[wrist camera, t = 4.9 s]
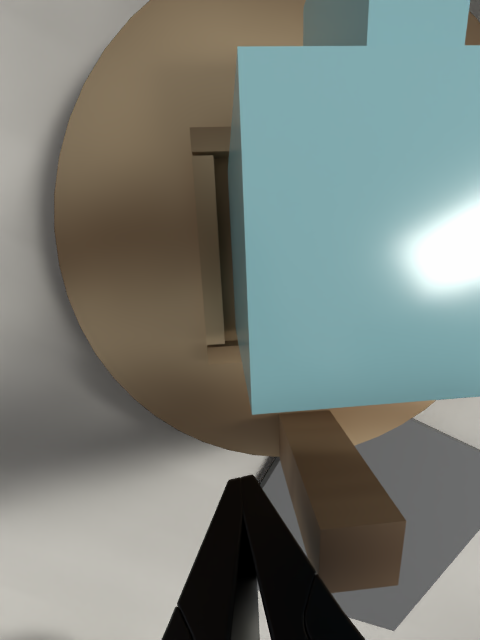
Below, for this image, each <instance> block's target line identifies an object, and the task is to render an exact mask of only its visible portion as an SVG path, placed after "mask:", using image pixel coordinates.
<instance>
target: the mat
mask: <svg viewBox="0 0 480 640" xmlns="http://www.w3.org/2000/svg"><path fill="white" fill-rule="evenodd" d="M355 448H356V449H357V450H358V452H359V453H360V455H361V456H362V458H363V459H364V460H365V462H366V463H367V465H368V466H369V468H370V469H371V471H372V472H373V473H374V475H375V476H376V478H377V479H378V481H379V482H380V484H381V485H382V486H383V488H384V489H385V491H386V492H387V494H388V495H389V496H390V498H391V499H392V501H393V502H394V504H395V505H396V507H397V508H398V509H399V511H400V512H401V514H402V515H403V517H404V518H405V520H406V528H405V536H404V544H403V551H402V559H401V567H400V575H399V582H398V585H396V586H388V587H379V588H371V589H363V590H354V591H346V592H337V593H331V594H332V595H333V597H334V598H335V600H336V601H337V603H338V604H339V605H340V607H341V608H342V610H343V611H344V613H345V614H346V615H347V617H349V618H352V619H356V620H359V621H362V622H366V623H369V624H372V625H376V626H379V627H382V628H386V629H389V630H392V631H394V630H395V629H396V628H397V627H398V626H399V624H400V623H401V622H402V621H403V620H404V618H405V617H406V616H407V615H408V614H409V613H410V611H411V610H412V609H413V608H414V607H415V605H416V604H417V603H418V602H419V601H420V599H421V598H422V597H423V596H424V595H425V594H426V592H427V591H428V590H429V589H430V588H431V586H432V585H433V584H434V583H435V582H436V581H437V579H438V578H439V577H440V576H441V575H442V573H443V572H444V571H445V570H446V569H447V567H448V566H449V565H450V564H451V563H452V562H453V560H454V559H455V558H456V557H457V556H458V554H459V553H460V552H461V551H462V550H463V549H464V547H465V546H466V545H467V544H468V543H469V541H470V540H471V539H472V538H473V537H474V535H475V534H476V533H477V532H478V531H479V530H480V450H479V449H477V448H475V447H472V446H470V445H468V444H466V443H464V442H462V441H460V440H458V439H455V438H453V437H451V436H449V435H447V434H445V433H443V432H441V431H439V430H436V429H434V428H432V427H430V426H428V425H426V424H424V423H422V422H419V421H417V420H415V419H413V418H411V419H410V420H408V421H407V422H405V423H403V424H402V425H400V426H398V427H396V428H394V429H392V430H390V431H388V432H386V433H384V434H382V435H380V436H378V437H376V438H373V439H371V440H368V441H365V442H363V443H360V444H357V445H355ZM260 486H261V487H262V489H263V491H264V492H265V494H266V495H267V497H268V498H269V500H270V501H271V503H272V504H273V506H274V507H275V509H276V510H277V512H278V513H279V515H280V517H281V518H282V520H283V521H284V523H285V524H286V526H287V527H288V529H289V530H290V532H291V533H292V535H293V536H294V538H295V539H296V541H297V543H298V544H299V546H300V547H301V549H302V550H303V552H304V553H305V555H306V556H307V553H306V550H305V546H304V543H303V539H302V536H301V532H300V529H299V525H298V522H297V518H296V515H295V511H294V508H293V504H292V501H291V497H290V494H289V490H288V487H287V483H286V480H285V476H284V473H283V469H282V466H281V462H280V459H279V457H276V459H275V460H274V462H273V464H272V465H271V467H270V469H269V470H268V472H267V473H266V475H265V477H264V478H263V480H262V482H261V483H260ZM307 558H308V557H307ZM257 589H258V590H259V591H260V589H259V585H258V581H257Z"/></svg>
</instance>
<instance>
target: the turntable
mask: <svg viewBox="0 0 480 640" xmlns="http://www.w3.org/2000/svg"><path fill="white" fill-rule="evenodd" d="M305 1H306V0H150V1H149V2H148V3H147V4H145V5H144V6H143V7H142V8H141V9H140V10H139V11H138V12H136V13H135V14H134V15H133V16H132V17H131V18H130V19H129V20H128V22H127V23H126V24H125V25H124V27H123V28H122V29H121V30H120V31H119V33H118V34H117V35H116V36H115V37H114V39H113V40H112V41H111V42H110V44H109V45H108V46H107V47H106V48H105V50H104V52H103V53H102V55H101V57H100V58H99V60H98V62H97V63H96V65H95V66H94V68H93V70H92V71H91V73H90V75H89V76H88V78H87V80H86V81H85V83H84V85H83V88H82V90H81V93H80V95H79V97H78V100H77V102H76V104H75V107H74V109H73V111H72V114H71V116H70V118H69V122H68V125H67V129H66V133H65V137H64V140H63V144H62V148H61V151H60V155H59V161H58V169H57V177H56V185H55V192H54V230H55V238H56V245H57V252H58V260H59V266H60V270H61V273H62V277H63V281H64V284H65V288H66V292H67V296H68V298H69V301H70V303H71V306H72V308H73V311H74V313H75V315H76V318H77V320H78V323H79V325H80V327H81V329H82V331H83V333H84V334H85V336H86V338H87V340H88V341H89V343H90V345H91V347H92V348H93V350H94V352H95V354H96V355H97V356H98V358H99V359H100V360H101V362H102V363H103V364H104V366H105V367H106V368H107V370H108V371H109V372H110V374H111V375H112V376H113V378H114V379H115V380H116V381H117V382H118V383H119V384H120V385H121V386H122V387H123V388H124V389H125V390H126V391H127V392H128V393H129V394H130V395H131V396H132V397H133V398H134V399H135V400H136V401H137V402H139V403H140V404H141V405H142V406H144V407H145V408H146V409H147V410H149V411H150V412H151V413H152V414H153V415H155V416H156V417H158V418H159V419H161V420H163V421H164V422H166V423H167V424H169V425H171V426H172V427H174V428H175V429H177V430H179V431H181V432H183V433H185V434H187V435H189V436H192V437H194V438H196V439H198V440H200V441H202V442H205V443H208V444H212V445H215V446H218V447H221V448H224V449H227V450H231V451H236V452H241V453H246V454H252V455H262V456H274V457H279V459H280V462H281V466H282V469H283V473H284V476H285V480H286V483H287V487H288V490H289V494H290V497H291V501H292V504H293V508H294V511H295V515H296V518H297V522H298V525H299V529H300V532H301V536H302V539H303V543H304V546H305V550H306V553H307V557H308V559H309V561H310V562H311V564H312V565H313V567H314V569H315V570H316V572H317V574H318V575H319V576H320V577H321V579H322V580H323V582H324V583H325V585H326V587H327V588H328V590H329V591H330V592H331V593H337V592H346V591H354V590H363V589H371V588H379V587H388V586H396V585H398V582H399V575H400V567H401V559H402V551H403V544H404V536H405V528H406V520H405V518H404V517H403V515H402V514H401V512H400V511H399V509H398V508H397V507H396V505H395V504H394V502H393V501H392V499H391V498H390V496H389V495H388V494H387V492H386V491H385V489H384V488H383V486H382V485H381V484H380V482H379V481H378V479H377V478H376V476H375V475H374V473H373V472H372V471H371V469H370V468H369V466H368V465H367V463H366V462H365V460H364V459H363V458H362V456H361V455H360V453H359V452H358V450H357V449H356V448H355V445H357V444H360V443H363V442H365V441H368V440H371V439H373V438H376V437H378V436H380V435H382V434H384V433H386V432H388V431H390V430H392V429H394V428H396V427H398V426H400V425H402V424H403V423H405V422H407V421H408V420H410V419H411V418H413V417H414V416H416V415H417V414H419V413H420V412H422V411H424V410H425V409H426V408H427V407H429V406H430V405H431V404H432V403H434V402H435V401H436V400H429V401H416V402H404V403H392V404H379V405H367V406H354V407H342V408H329V409H317V410H304V411H292V412H280V413H267V414H255V415H252V412H251V407H250V402H249V397H248V391H247V386H246V381H245V376H244V371H243V365H242V360H241V355H240V350H239V345H238V339H237V334H236V328H235V308H234V289H233V270H232V250H231V231H230V212H229V192H228V160H229V147H230V135H231V122H232V109H233V96H234V84H235V71H236V58H237V47H238V46H303V7H304V4H305ZM465 45H480V23H479V21H478V20H477V18H476V17H475V16H474V15H473V14H472V13H471V12H470V11H469V14H468V22H467V29H466V37H465Z"/></svg>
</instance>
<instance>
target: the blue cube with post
mask: <svg viewBox="0 0 480 640" xmlns="http://www.w3.org/2000/svg"><path fill="white" fill-rule="evenodd" d="M469 6H470V0H306V1H305V4H304V7H303V46H238V47H237V58H236V71H235V84H234V96H233V109H232V122H231V135H230V147H229V160H228V192H229V212H230V231H231V250H232V270H233V289H234V308H235V328H236V334H237V339H238V345H239V350H240V355H241V360H242V365H243V371H244V376H245V381H246V386H247V391H248V397H249V402H250V407H251V412H252V415H255V414H267V413H280V412H292V411H304V410H317V409H329V408H342V407H354V406H367V405H379V404H392V403H404V402H416V401H429V400H441V399H454V398H466V397H479V396H480V45H465V37H466V29H467V22H468V14H469Z"/></svg>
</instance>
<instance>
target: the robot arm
mask: <svg viewBox="0 0 480 640" xmlns="http://www.w3.org/2000/svg"><path fill="white" fill-rule="evenodd" d="M257 581H258V585H259V589H260V594H261V598H262V602H263V606H264V611H265V615H266V619H267V624H268V628H269V632H270V636H271V640H365V639H364V637H363V636H362V635H361V633H360V632H359V631H358V630H357V628H356V627H355V626H354V624H353V623H352V622H351V620H350V619H349V618H348V617H347V615H346V614H345V613H344V611H343V610H342V608H341V607H340V605H339V604H338V603H337V601H336V600H335V598H334V597H333V595H332V594H331V592H330V591H329V590H328V588H327V587H326V585H325V583H324V582H323V580H322V579H321V577H320V576H319V575H318V574H317V572H316V570H315V569H314V567H313V565H312V564H311V562H310V561H309V559H308V558H307V556H306V555H305V553H304V552H303V550H302V549H301V547H300V546H299V544H298V543H297V541H296V539H295V538H294V536H293V535H292V533H291V532H290V530H289V529H288V527H287V526H286V524H285V523H284V521H283V520H282V518H281V517H280V515H279V513H278V512H277V510H276V509H275V507H274V506H273V504H272V503H271V501H270V500H269V498H268V497H267V495H266V494H265V492H264V491H263V489H262V487H261V486H260V484H259V483H258V481H257V480H256V478H255V477H254V476H253V475H248V476H244V477H241V478H235V479H230V480H229V481H228V482H227V485H226V487H225V490H224V492H223V494H222V497H221V499H220V502H219V504H218V506H217V509H216V511H215V514H214V516H213V518H212V521H211V523H210V526H209V528H208V530H207V533H206V535H205V538H204V540H203V542H202V545H201V547H200V550H199V552H198V554H197V557H196V559H195V562H194V564H193V566H192V569H191V571H190V574H189V576H188V578H187V581H186V583H185V586H184V588H183V590H182V593H181V595H180V598H179V600H178V602H177V606H178V607H175V609H174V612H173V614H172V616H171V619H170V621H169V624H168V626H167V628H166V631H165V633H164V635H163V638H162V640H260V635H259V612H258V589H257Z"/></svg>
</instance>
